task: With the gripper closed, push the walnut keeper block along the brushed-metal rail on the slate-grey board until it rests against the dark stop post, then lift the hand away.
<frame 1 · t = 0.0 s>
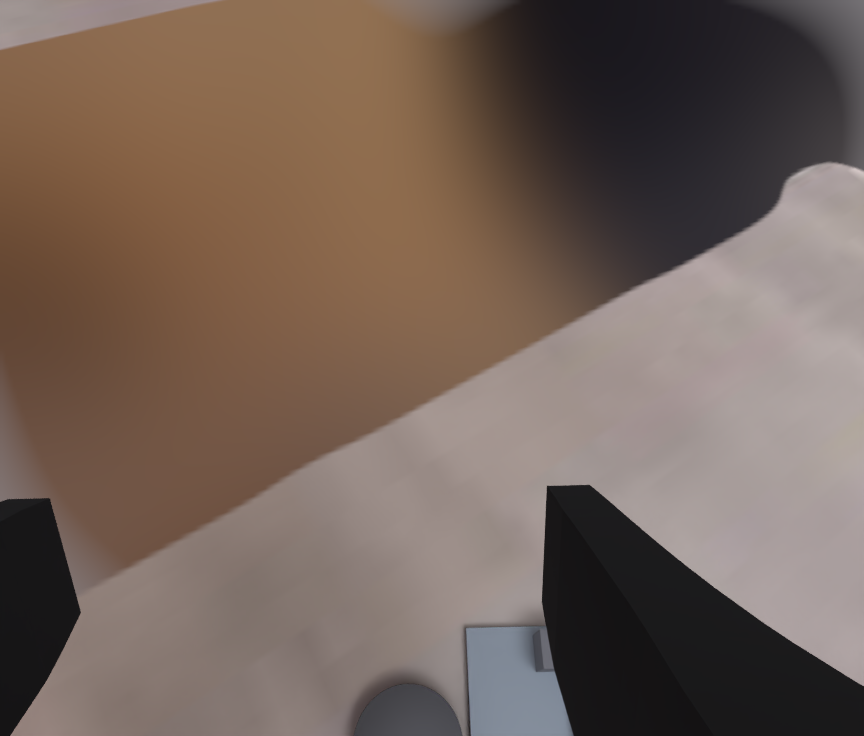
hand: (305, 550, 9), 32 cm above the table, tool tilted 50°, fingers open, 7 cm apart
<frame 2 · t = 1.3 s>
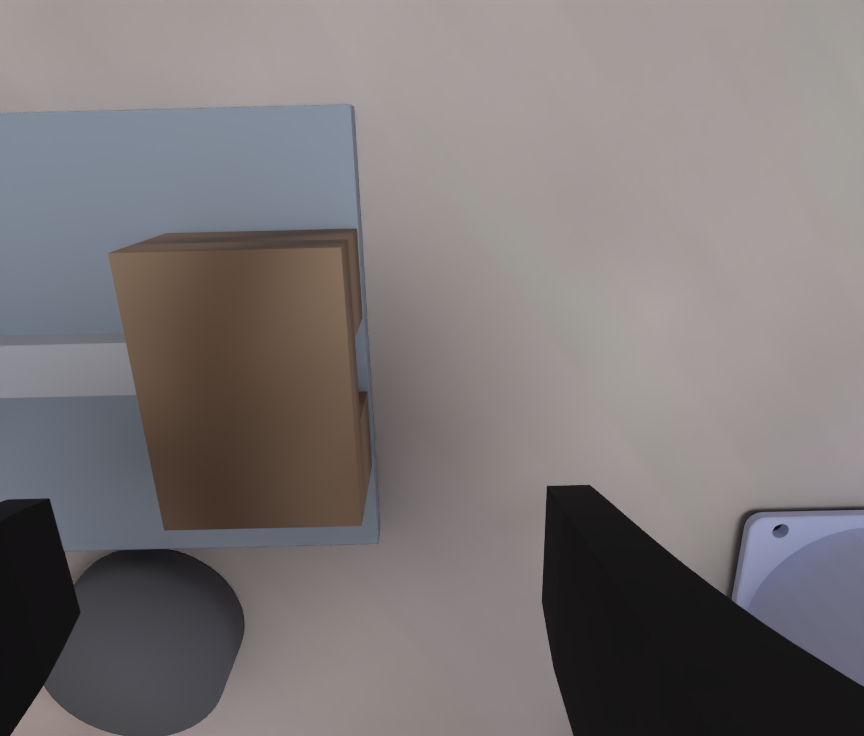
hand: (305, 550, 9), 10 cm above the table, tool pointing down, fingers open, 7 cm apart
dark gray cylinder: (158, 618, 22), on the table
board: (133, 349, 18), on the table
keeper: (261, 377, 16), point 3 cm above the table, slide at 0.0 cm
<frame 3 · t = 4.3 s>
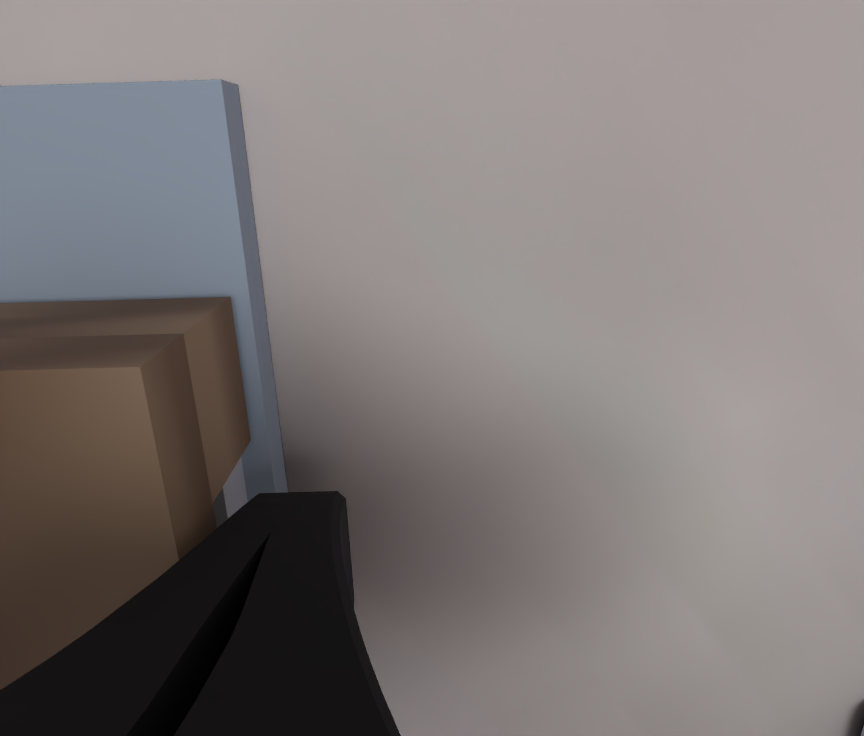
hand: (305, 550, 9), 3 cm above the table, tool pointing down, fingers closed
keeper: (61, 559, 9), point 3 cm above the table, slide at 0.2 cm, touching gripper
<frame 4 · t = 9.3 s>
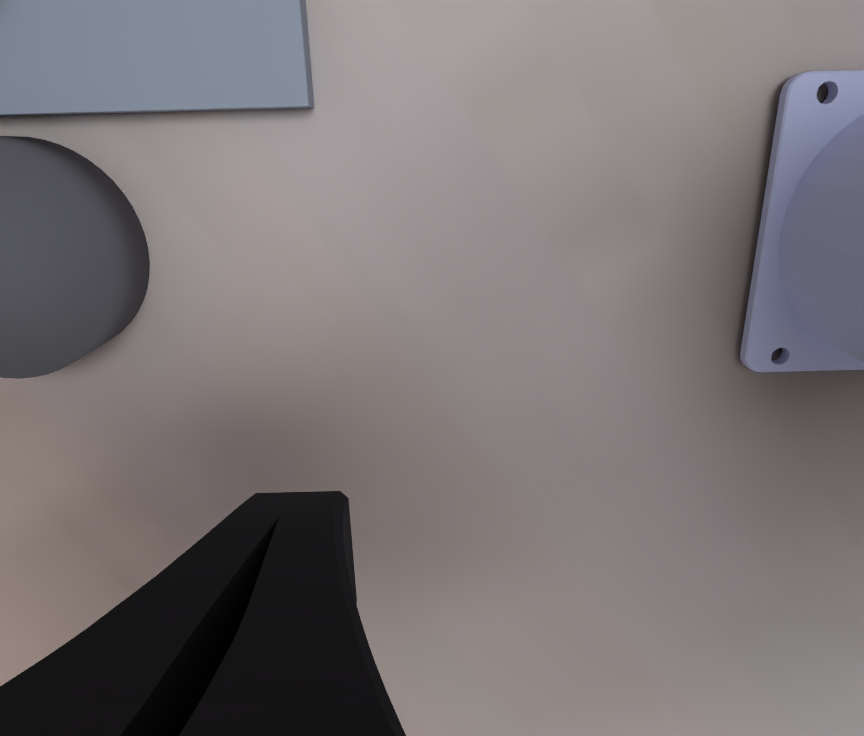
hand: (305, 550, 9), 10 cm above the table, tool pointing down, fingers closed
dark gray cylinder: (40, 250, 17), on the table
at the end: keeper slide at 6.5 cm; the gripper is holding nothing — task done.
